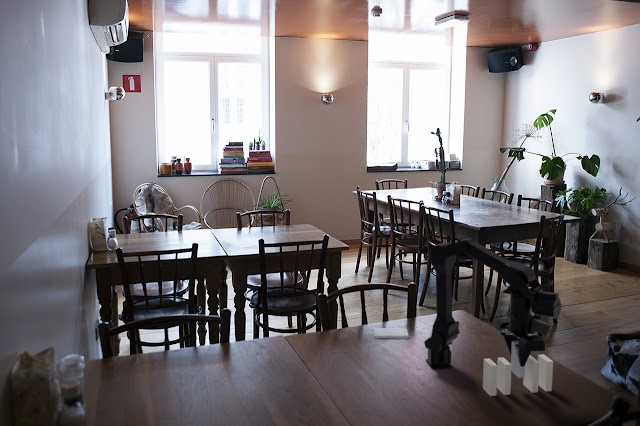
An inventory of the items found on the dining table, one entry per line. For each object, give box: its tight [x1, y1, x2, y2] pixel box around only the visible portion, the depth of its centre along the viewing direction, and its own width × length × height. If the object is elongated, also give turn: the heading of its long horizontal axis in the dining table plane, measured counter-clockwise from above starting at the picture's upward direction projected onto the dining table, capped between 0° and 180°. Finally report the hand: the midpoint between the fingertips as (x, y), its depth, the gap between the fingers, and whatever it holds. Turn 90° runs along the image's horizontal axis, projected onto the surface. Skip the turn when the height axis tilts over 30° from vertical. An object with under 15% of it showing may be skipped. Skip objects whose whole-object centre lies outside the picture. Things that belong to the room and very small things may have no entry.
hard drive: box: [372, 327, 410, 340], centre depth 205 cm, size 2×8×12 cm
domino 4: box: [522, 354, 539, 393], centre depth 161 cm, size 2×5×9 cm, turn 8°
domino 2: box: [496, 357, 512, 396], centre depth 160 cm, size 2×5×9 cm, turn 8°
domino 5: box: [537, 354, 554, 392], centre depth 162 cm, size 2×5×9 cm, turn 8°
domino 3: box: [510, 341, 526, 379], centre depth 160 cm, size 2×5×9 cm, turn 8°
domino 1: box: [482, 358, 498, 397], centre depth 159 cm, size 2×5×9 cm, turn 8°
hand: (517, 362), depth 160 cm, fingers closed on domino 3, 5 cm apart
